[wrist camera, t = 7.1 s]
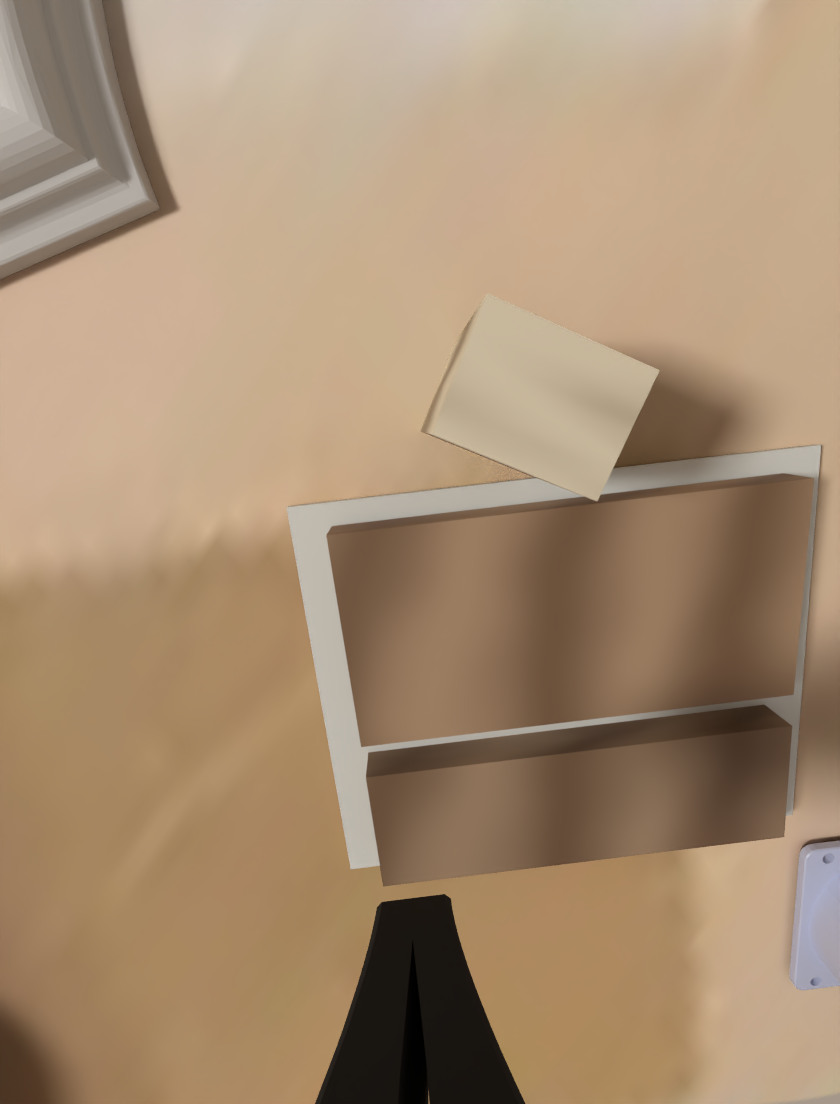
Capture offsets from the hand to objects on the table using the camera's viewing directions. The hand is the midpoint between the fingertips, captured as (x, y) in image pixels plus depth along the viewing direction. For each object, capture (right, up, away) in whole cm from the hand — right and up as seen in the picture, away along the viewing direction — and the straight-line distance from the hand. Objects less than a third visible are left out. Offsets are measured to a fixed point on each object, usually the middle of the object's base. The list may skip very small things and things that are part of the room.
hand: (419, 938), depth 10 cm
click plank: (+5, +6, +9) cm, 12 cm away
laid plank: (+6, -2, +11) cm, 13 cm away
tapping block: (+2, +10, +5) cm, 11 cm away
